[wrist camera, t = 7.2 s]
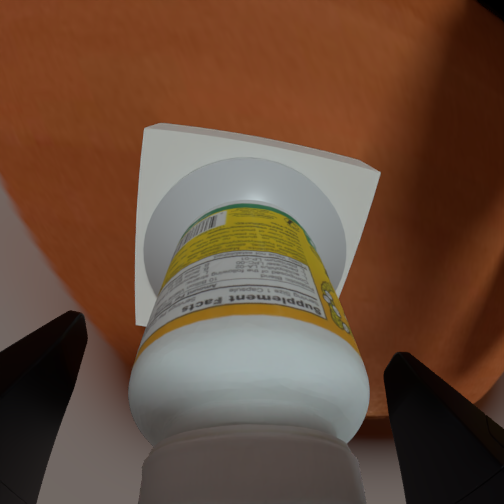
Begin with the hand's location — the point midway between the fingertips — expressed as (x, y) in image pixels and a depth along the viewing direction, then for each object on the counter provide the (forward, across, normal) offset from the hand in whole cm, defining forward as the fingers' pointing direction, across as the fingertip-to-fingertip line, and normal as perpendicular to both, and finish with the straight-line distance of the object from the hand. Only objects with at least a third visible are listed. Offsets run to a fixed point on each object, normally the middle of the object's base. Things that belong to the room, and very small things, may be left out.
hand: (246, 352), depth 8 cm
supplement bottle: (+5, 0, 0) cm, 5 cm away
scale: (+8, 0, 0) cm, 8 cm away
